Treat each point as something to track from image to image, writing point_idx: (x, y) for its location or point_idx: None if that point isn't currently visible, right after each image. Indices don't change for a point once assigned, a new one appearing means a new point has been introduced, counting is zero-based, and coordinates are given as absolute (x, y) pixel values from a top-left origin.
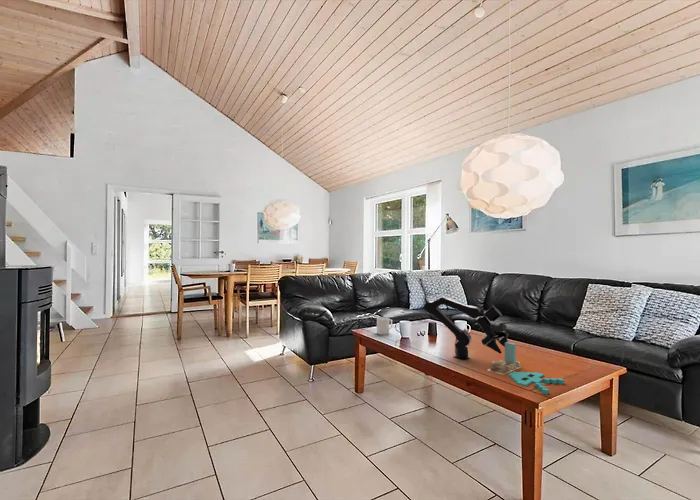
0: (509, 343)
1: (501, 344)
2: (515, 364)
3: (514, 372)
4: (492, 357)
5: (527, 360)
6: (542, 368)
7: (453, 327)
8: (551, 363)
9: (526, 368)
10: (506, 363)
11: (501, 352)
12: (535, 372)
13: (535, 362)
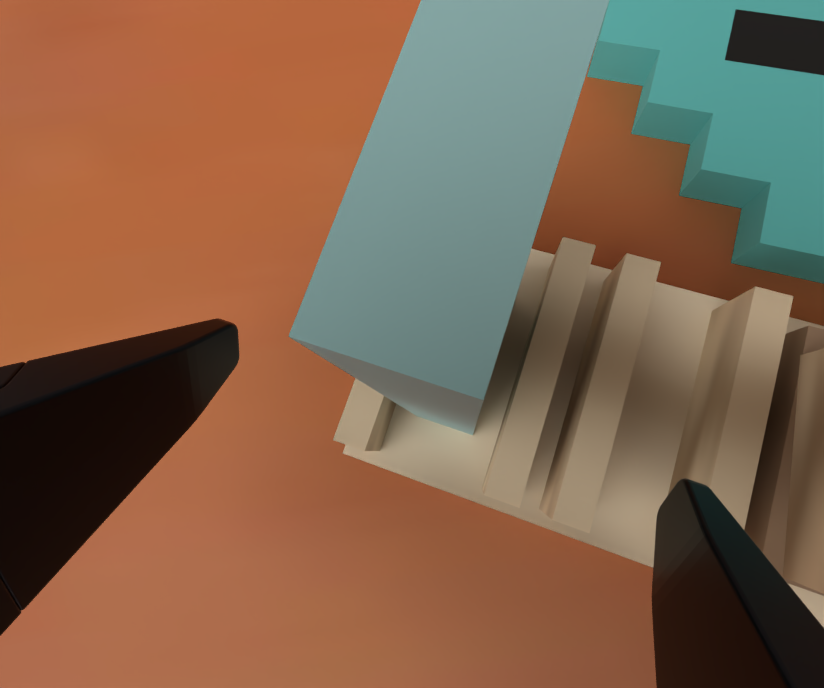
0: (547, 161)
1: (34, 595)
2: (578, 243)
3: (818, 236)
4: (69, 683)
5: (33, 229)
6: (271, 52)
7: None
8: (50, 13)
9: None
10: (630, 375)
11: (696, 482)
12: (617, 25)
13: (78, 144)
